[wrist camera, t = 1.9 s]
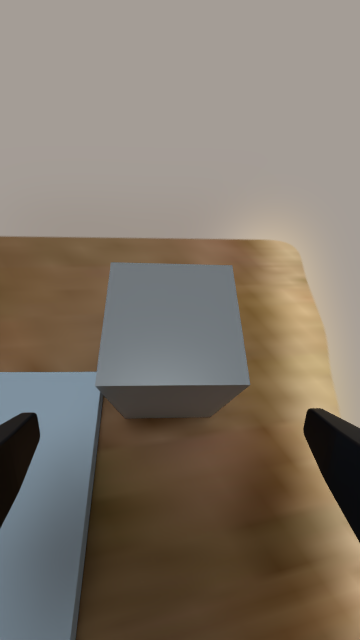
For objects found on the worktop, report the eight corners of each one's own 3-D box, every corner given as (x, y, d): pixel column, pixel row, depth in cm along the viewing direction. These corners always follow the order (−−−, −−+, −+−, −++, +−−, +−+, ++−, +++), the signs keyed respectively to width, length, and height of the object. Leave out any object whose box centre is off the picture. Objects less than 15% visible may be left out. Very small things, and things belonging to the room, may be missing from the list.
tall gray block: (210, 417, 20) (250, 384, 11) (125, 418, 19) (94, 385, 10) (204, 340, 23) (232, 265, 14) (130, 339, 22) (111, 262, 13)
